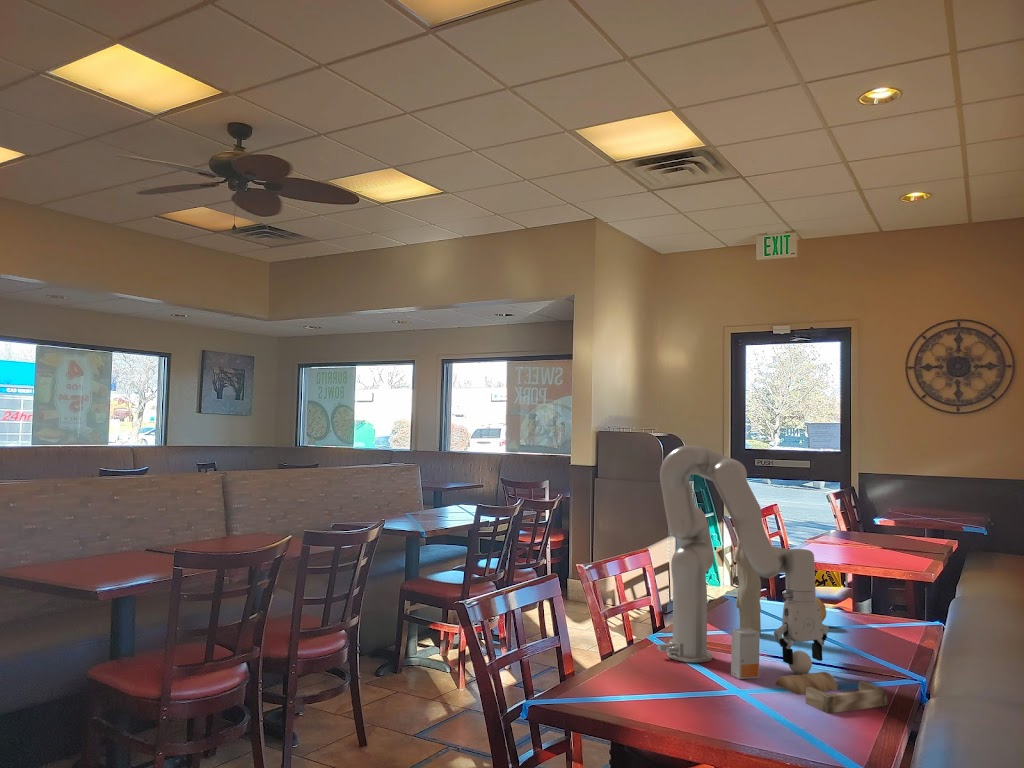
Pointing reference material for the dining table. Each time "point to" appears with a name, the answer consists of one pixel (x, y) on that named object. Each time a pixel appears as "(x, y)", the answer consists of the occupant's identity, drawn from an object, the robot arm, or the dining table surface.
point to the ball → (801, 662)
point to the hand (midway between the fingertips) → (802, 661)
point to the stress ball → (822, 609)
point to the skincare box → (745, 653)
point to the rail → (847, 698)
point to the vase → (747, 592)
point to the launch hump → (807, 682)
